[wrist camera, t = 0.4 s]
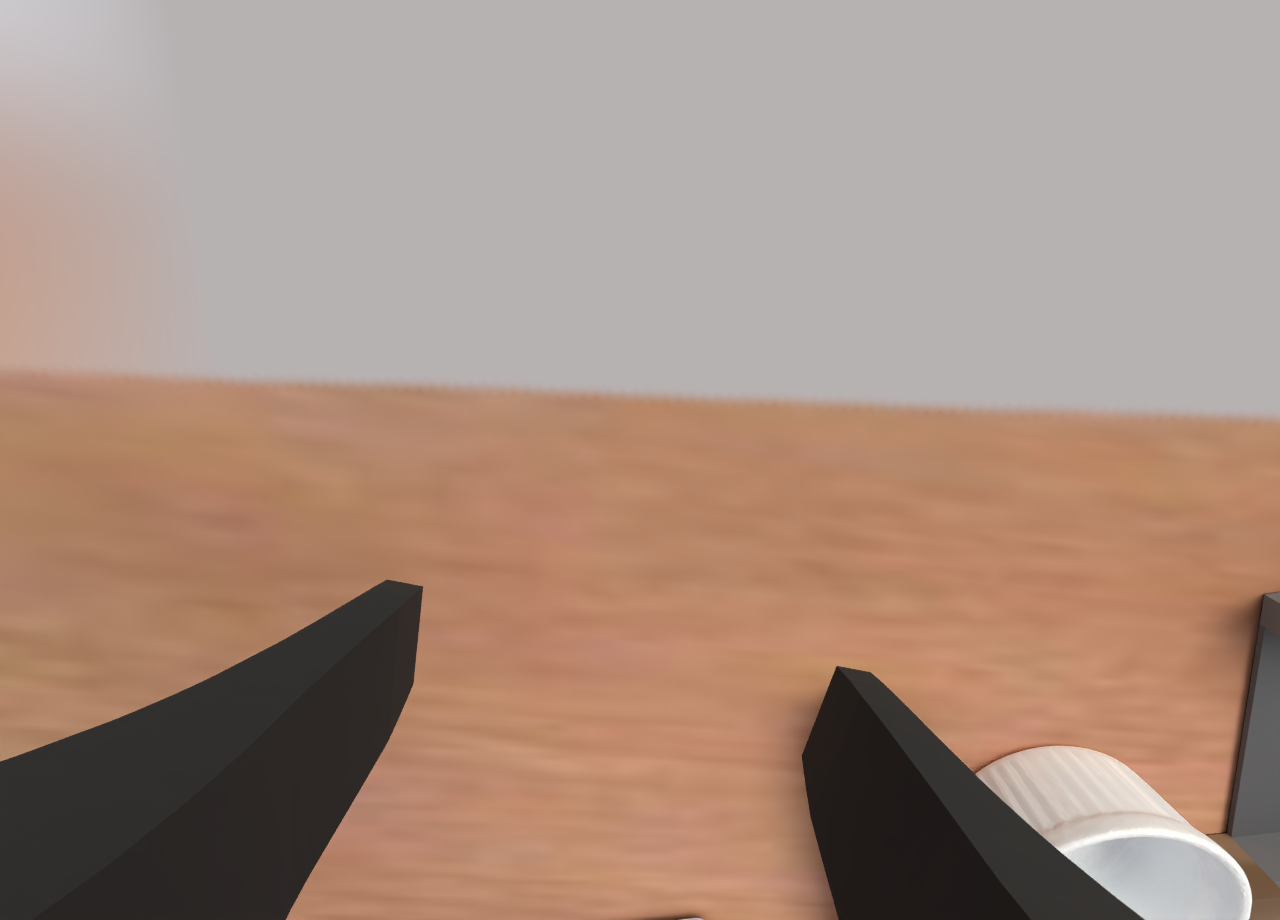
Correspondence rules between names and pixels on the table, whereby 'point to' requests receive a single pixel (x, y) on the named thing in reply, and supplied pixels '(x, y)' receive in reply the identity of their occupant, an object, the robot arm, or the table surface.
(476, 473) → the table surface
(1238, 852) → the walnut channel
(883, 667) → the table surface
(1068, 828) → the ramekin
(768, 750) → the table surface
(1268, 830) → the grey e-shaped block
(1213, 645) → the table surface
